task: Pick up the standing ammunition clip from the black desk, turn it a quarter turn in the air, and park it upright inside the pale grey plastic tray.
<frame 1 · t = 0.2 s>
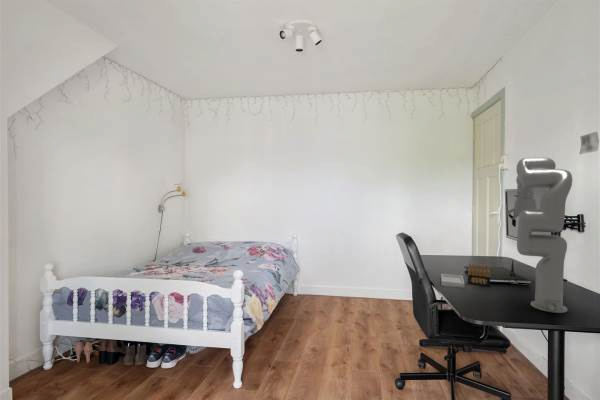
hand: (524, 226, 182), 31 cm above the table, tool pointing down, fingers open, 9 cm apart
eiffel tower figurine: (512, 282, 184), on the table
ammunition clip: (478, 285, 176), on the table
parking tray: (452, 282, 181), on the table
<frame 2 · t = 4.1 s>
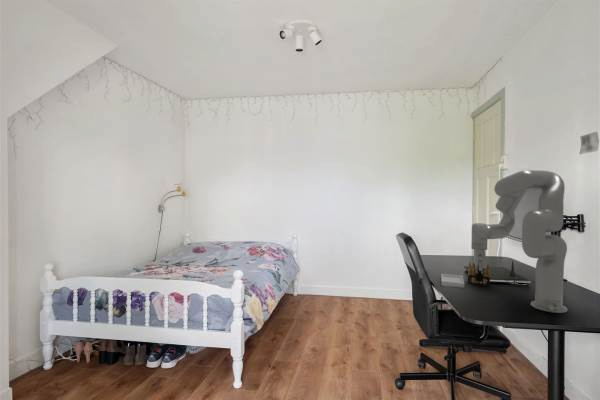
hand: (478, 280, 176), 3 cm above the table, tool pointing down, fingers closed on ammunition clip, 2 cm apart
ammunition clip: (478, 285, 176), on the table, touching gripper
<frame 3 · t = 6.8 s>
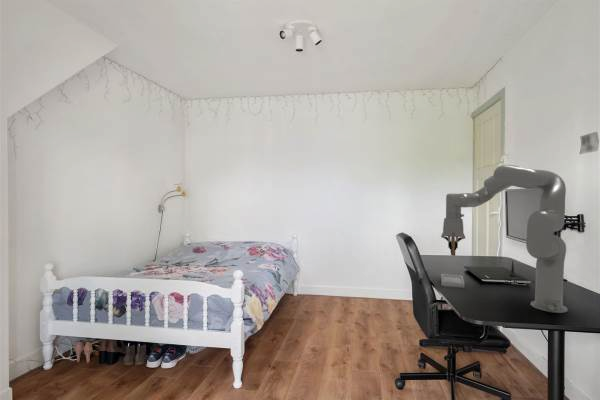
hand: (452, 249, 180), 19 cm above the table, tool pointing down, fingers closed on ammunition clip
ammunition clip: (452, 254, 180), point 16 cm above the table, touching gripper
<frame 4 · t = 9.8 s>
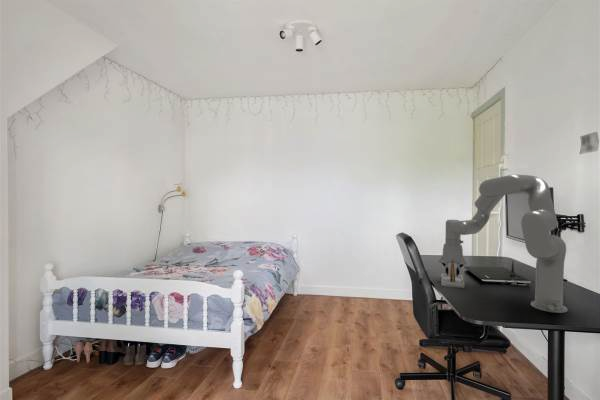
hand: (452, 274, 181), 4 cm above the table, tool pointing down, fingers open, 4 cm apart
ammunition clip: (452, 281, 180), point 1 cm above the table, touching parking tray
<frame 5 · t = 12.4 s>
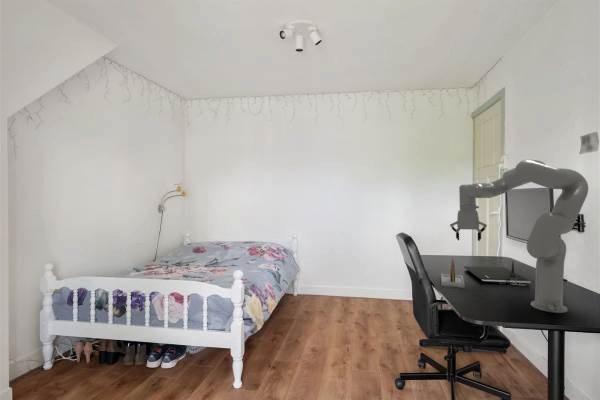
hand: (468, 240, 172), 25 cm above the table, tool pointing down, fingers open, 9 cm apart
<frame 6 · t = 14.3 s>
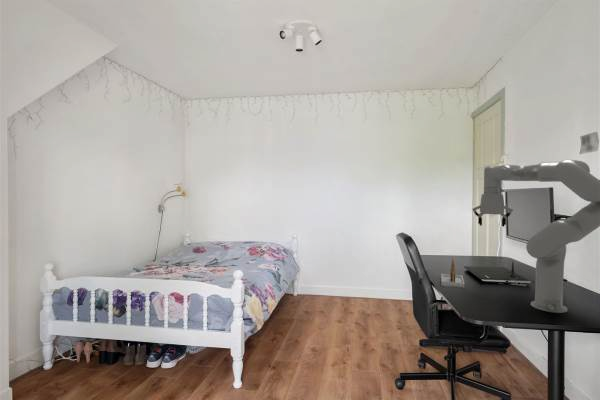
hand: (491, 225, 162), 33 cm above the table, tool pointing down, fingers open, 9 cm apart
at the end: ammunition clip inside the target area on the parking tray (0.2 cm from its centre), point 0.6 cm above the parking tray's base; ammunition clip tilted 0°; the gripper is holding nothing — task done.
